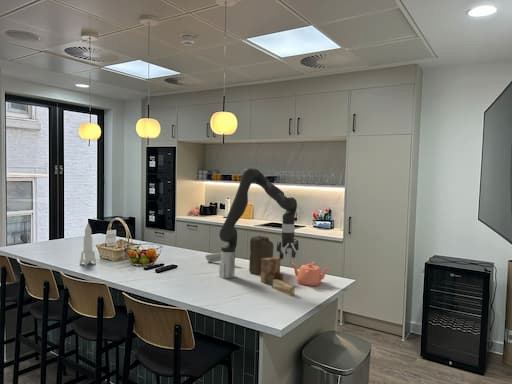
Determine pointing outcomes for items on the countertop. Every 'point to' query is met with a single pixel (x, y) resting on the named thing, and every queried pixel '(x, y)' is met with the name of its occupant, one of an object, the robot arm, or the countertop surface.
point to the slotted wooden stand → (270, 270)
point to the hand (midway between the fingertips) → (287, 258)
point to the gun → (214, 257)
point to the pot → (309, 274)
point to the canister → (259, 252)
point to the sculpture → (88, 247)
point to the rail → (283, 287)
